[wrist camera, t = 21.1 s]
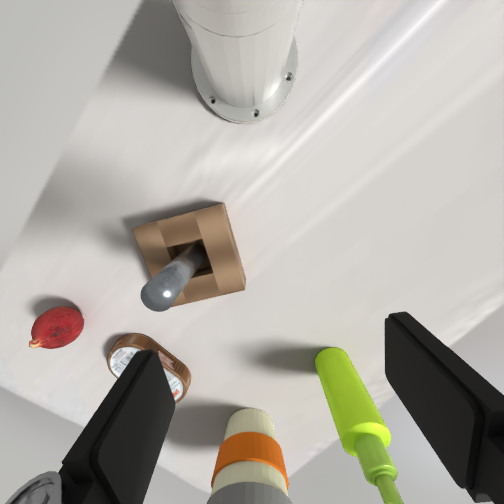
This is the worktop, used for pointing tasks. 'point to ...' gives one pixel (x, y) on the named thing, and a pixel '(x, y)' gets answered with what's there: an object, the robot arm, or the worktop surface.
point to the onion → (56, 328)
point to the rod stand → (188, 232)
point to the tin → (171, 365)
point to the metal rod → (172, 279)
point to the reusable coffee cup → (249, 462)
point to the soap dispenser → (358, 421)
